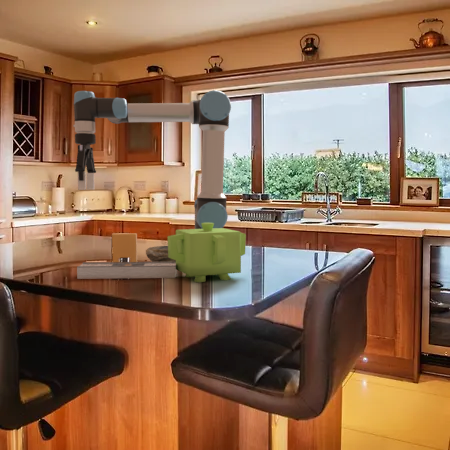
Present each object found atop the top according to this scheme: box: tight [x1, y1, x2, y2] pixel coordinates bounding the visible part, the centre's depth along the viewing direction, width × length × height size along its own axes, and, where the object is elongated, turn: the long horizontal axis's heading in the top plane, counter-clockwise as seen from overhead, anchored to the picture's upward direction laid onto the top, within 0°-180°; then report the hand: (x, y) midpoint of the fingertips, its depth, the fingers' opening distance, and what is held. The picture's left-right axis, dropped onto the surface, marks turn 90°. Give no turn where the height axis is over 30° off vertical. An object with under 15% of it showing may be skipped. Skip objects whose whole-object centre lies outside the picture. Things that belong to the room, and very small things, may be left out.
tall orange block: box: [111, 232, 138, 262], centre depth 165 cm, size 8×3×12 cm, turn 94°
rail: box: [76, 261, 177, 280], centre depth 152 cm, size 30×8×4 cm, turn 94°
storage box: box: [167, 223, 247, 283], centre depth 149 cm, size 25×23×17 cm
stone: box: [145, 245, 176, 262], centre depth 176 cm, size 14×10×10 cm
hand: (86, 189), depth 183 cm, fingers open, 13 cm apart
